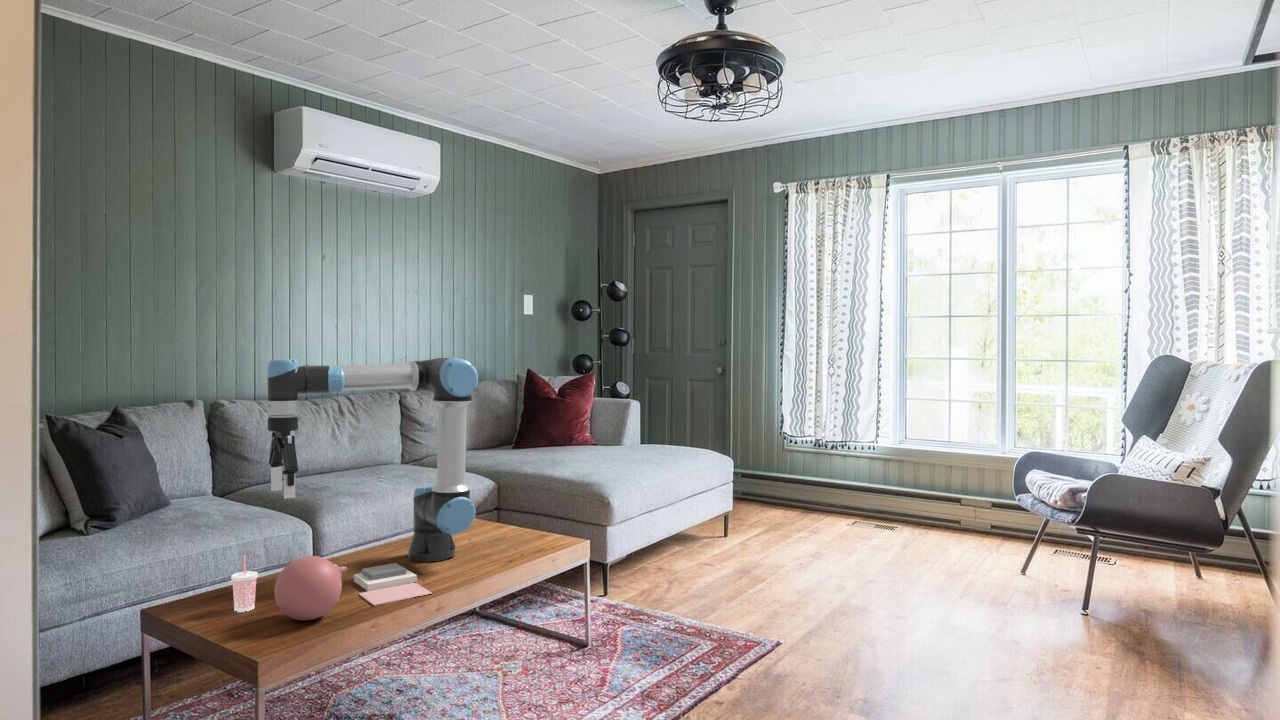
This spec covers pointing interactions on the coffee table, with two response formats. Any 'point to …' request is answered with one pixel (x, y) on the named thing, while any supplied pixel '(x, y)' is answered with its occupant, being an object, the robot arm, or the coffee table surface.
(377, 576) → the coaster
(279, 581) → the balloon
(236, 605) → the beverage cup
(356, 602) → the coffee table surface
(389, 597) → the felt mat
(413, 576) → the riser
